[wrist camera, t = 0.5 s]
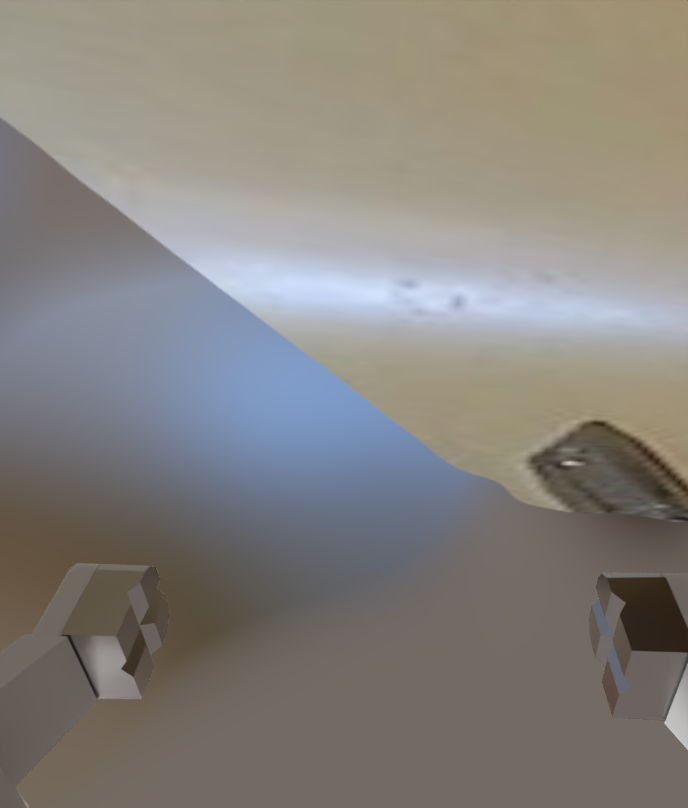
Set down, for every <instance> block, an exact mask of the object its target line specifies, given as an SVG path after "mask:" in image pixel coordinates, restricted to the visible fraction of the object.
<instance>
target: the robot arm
mask: <svg viewBox="0 0 688 808" xmlns="http://www.w3.org/2000/svg"><path fill="white" fill-rule="evenodd" d="M159 581H160V577H159V574H158V572H157V569H156V567H152V566H134V565H110V564H79V563H77V564H76V565H74V567H72V568H71V569H70V570H69V571H68V573H67V575H66V576H65V578H64V580H63V581H62V583H61V585H60V587H59V588H58V590H57V592H56V593H55V595H54V597H53V599H52V600H51V602H50V604H49V606H48V607H47V609H46V611H45V613H44V614H43V616H42V618H41V619H40V621H39V623H38V625H37V626H36V628H35V630H34V631H33V633H32V635H23V636H22V637H20V638H19V639H18V640H16V641H15V642H13V643H12V644H11V645H9V646H8V647H7V648H5V649H4V650H3V651H1V652H0V808H29V806H28V804H27V803H26V801H25V800H24V798H23V797H22V796H21V794H20V793H19V791H18V790H17V788H16V787H15V786H16V785H17V784H18V783H19V782H20V781H21V780H22V779H23V778H24V777H25V776H26V775H27V774H28V773H29V772H30V771H31V770H32V769H33V768H34V767H35V766H36V765H37V763H39V762H40V761H41V759H43V757H44V756H45V755H46V754H47V753H48V752H49V751H50V750H51V749H52V748H53V747H54V746H55V745H56V744H57V743H58V742H59V741H60V740H61V739H62V738H63V737H64V736H65V735H66V734H67V733H68V732H69V731H70V729H72V728H73V726H74V725H75V724H76V723H77V722H78V721H79V720H80V719H81V718H82V717H83V716H84V715H85V714H86V713H87V712H88V711H89V710H90V709H91V708H92V707H93V706H94V705H95V704H96V703H97V702H98V700H97V699H99V698H100V699H142V698H143V695H144V693H145V690H146V687H147V685H148V682H149V679H150V677H151V674H152V671H153V669H154V664H153V661H152V658H151V654H152V653H154V652H155V651H156V650H157V649H158V648H159V647H160V646H162V644H163V641H164V638H165V636H166V633H167V628H168V620H169V607H168V601H167V598H166V595H165V594H163V593H162V592H161V591H160V590H158V589H157V586H158V584H159ZM596 591H597V594H598V597H599V599H598V600H597V601H595V602H594V603H593V604H592V605H591V611H590V617H589V628H590V638H591V644H592V648H593V652H594V655H595V658H596V659H597V660H598V661H599V662H600V663H601V664H602V665H603V666H604V667H605V671H604V675H603V679H602V684H603V687H604V690H605V694H606V697H607V701H608V704H609V708H610V711H611V714H612V717H613V718H628V719H643V720H659V721H665V723H664V724H666V726H667V727H668V728H669V729H670V730H671V731H672V732H673V734H674V735H675V736H676V737H677V738H678V739H679V740H680V741H681V743H682V744H683V745H684V746H685V747H686V748H687V749H688V574H658V573H601V574H600V575H599V577H598V579H597V583H596Z"/></svg>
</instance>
